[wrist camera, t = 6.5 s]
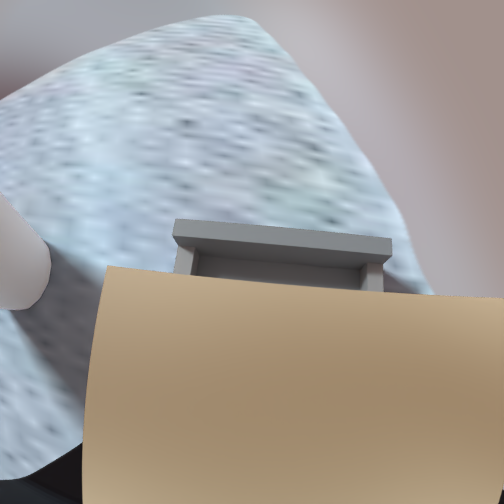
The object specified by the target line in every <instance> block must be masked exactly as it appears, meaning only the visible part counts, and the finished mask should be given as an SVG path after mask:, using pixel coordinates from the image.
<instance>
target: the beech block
mask: <svg viewBox="0 0 504 504" xmlns="http://www.w3.org/2000/svg"><path fill="white" fill-rule="evenodd" d="M503 484H504V298H485V297H461V296H440V295H423V294H406V293H390V292H375V291H360V290H347V289H333V288H321V287H308V286H297V285H285V284H274V283H263V282H252V281H242V280H232V279H222V278H212V277H202V276H193V275H184V274H175V273H166V272H157V271H148V270H140V269H132V268H123V267H115V266H107V270H106V274H105V278H104V283H103V288H102V293H101V297H100V303H99V308H98V313H97V319H96V324H95V330H94V336H93V343H92V349H91V357H90V364H89V372H88V381H87V390H86V401H85V413H84V428H83V451H82V494H83V504H498V503H499V499H500V496H501V492H502V489H503Z"/></svg>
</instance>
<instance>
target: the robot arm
mask: <svg viewBox="0 0 504 504" xmlns="http://www.w3.org/2000/svg"><path fill="white" fill-rule="evenodd" d="M82 451H83V442H82V443H81V444H80V445H78V446H77V447H75V448H74V449H72V450H71V451H69V452H68V453H66V454H64V455H63V456H61V457H60V458H58V459H56V460H55V461H53V462H51V463H50V464H48V465H46V466H45V467H43V468H41V469H39V470H38V471H36V472H34V473H32V474H30V475H28V476H26V477H22V478H19V479H13V480H0V504H83V494H82ZM498 504H504V490H503V489H502V492H501V496H500V499H499V503H498Z"/></svg>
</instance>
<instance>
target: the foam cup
mask: <svg viewBox="0 0 504 504" xmlns="http://www.w3.org/2000/svg"><path fill="white" fill-rule="evenodd" d="M51 265H52V264H51V258H50V252H49V248H48V246H47V245H46V244H45V242H44V241H43V240H42V238H41V237H40V236H39V235H38V234H37V233H36V232H35V230H34V229H33V228H32V227H31V226H30V225H29V224H28V223H27V222H26V221H25V220H24V218H23V217H22V216H21V215H20V214H19V213H18V212H17V211H16V209H15V208H14V207H13V206H12V205H11V204H10V203H9V201H8V200H7V199H6V198H5V197H4V195H3V194H2V193H1V192H0V309H7V310H22V309H28V308H30V307H31V306H32V305H33V304H34V303H35V302H36V301H38V300H39V299H40V298H41V296H42V294H43V292H44V290H45V288H46V286H47V284H48V282H49V276H50V270H51Z"/></svg>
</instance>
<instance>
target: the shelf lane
mask: <svg viewBox="0 0 504 504" xmlns="http://www.w3.org/2000/svg"><path fill="white" fill-rule="evenodd" d="M172 236H173V238H174V239H175V241H176V243H177V244H178V250H177V255H176V261H175V266H174V272H173V273H175V274H184V275H193V276H202V277H212V278H222V279H232V280H242V281H252V282H263V283H274V284H285V285H297V286H308V287H321V288H333V289H347V290H360V291H375V292H383V264H384V263H385V262H386V261H387V260H388V259H389V258H390V257H391V256H392V239H390V238H382V237H373V236H364V235H354V234H345V233H335V232H325V231H315V230H305V229H295V228H284V227H273V226H262V225H250V224H238V223H226V222H214V221H201V220H187V219H175V224H174V228H173V233H172Z"/></svg>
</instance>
